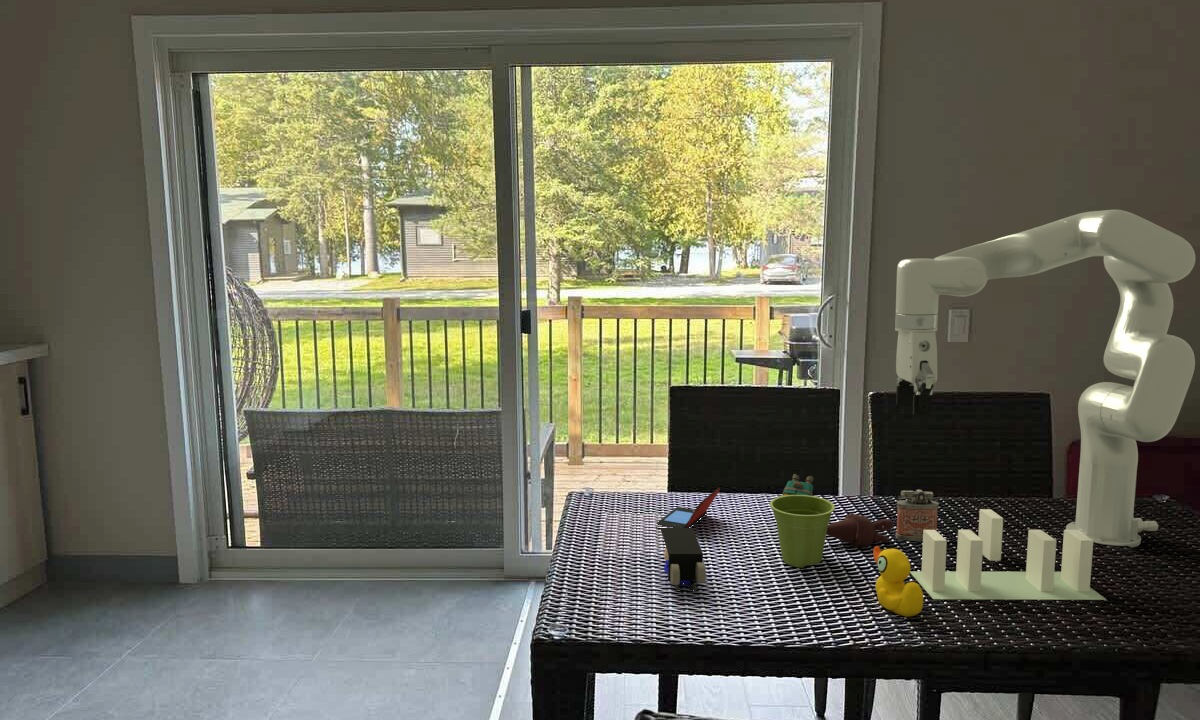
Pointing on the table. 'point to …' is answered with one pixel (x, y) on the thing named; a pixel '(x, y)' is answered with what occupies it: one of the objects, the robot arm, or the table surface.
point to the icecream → (859, 530)
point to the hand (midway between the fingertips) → (912, 410)
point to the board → (1006, 588)
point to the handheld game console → (687, 514)
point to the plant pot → (801, 527)
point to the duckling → (896, 583)
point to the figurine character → (683, 557)
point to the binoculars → (799, 486)
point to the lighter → (916, 515)
